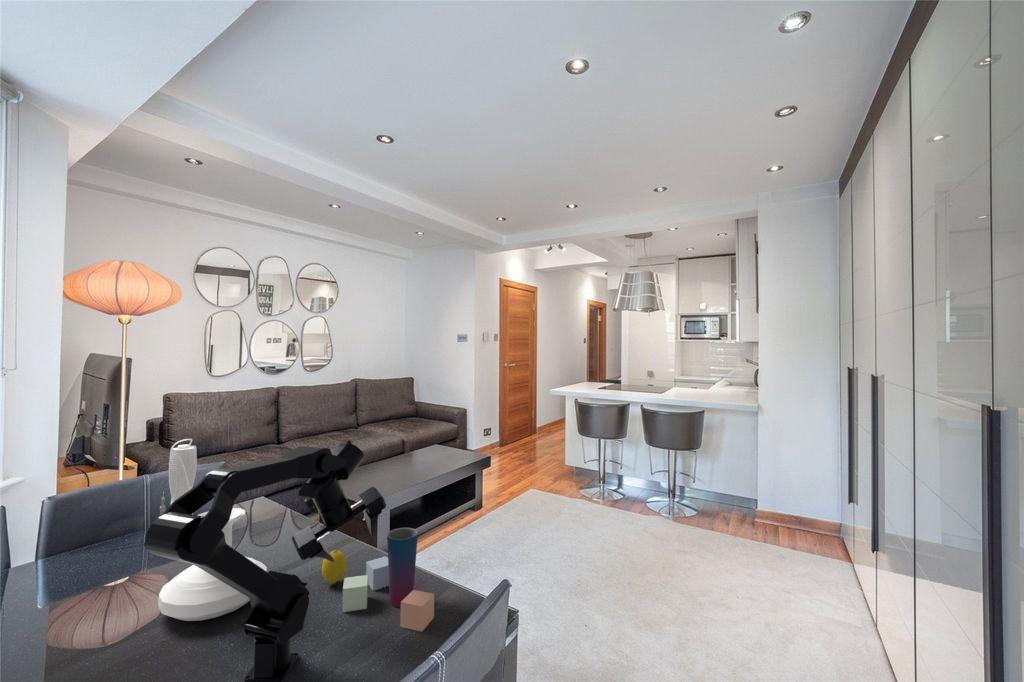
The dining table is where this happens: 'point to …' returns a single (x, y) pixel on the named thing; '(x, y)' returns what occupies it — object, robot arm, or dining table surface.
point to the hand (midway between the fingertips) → (353, 546)
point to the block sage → (355, 593)
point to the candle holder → (203, 589)
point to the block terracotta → (417, 610)
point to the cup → (401, 563)
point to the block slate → (377, 573)
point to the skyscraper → (181, 471)
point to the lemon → (334, 567)
